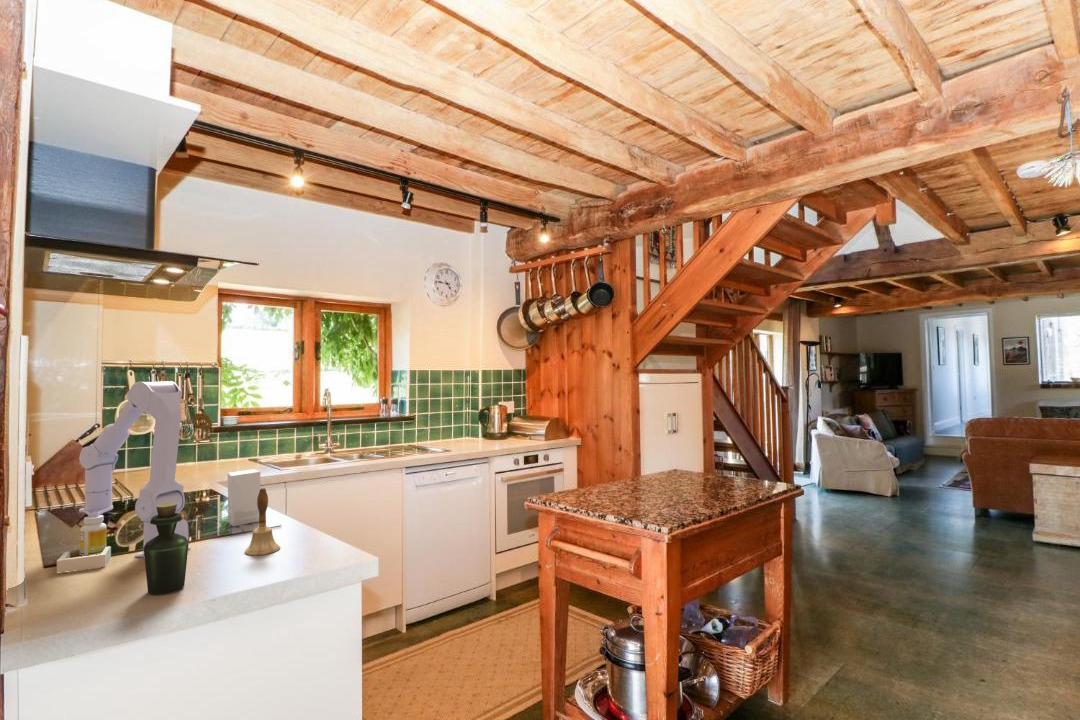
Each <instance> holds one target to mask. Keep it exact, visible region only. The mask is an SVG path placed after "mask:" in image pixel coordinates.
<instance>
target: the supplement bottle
mask: <svg viewBox="0 0 1080 720" xmlns="http://www.w3.org/2000/svg"><path fill="white" fill-rule="evenodd" d="M103 520H104V517H103V515H99V516H98V517H92V518H88V517H87V516H84V518H83V524H84V525H82V526H81V527H80V529H79V556H80V555H96V554H101V553H102V552H103V550H104V549H105V547H107V534H108V533H107V529H108V526H106V524H104V523H102V522H103Z"/></svg>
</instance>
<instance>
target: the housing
mask: <svg viewBox="0 0 1080 720" xmlns="http://www.w3.org/2000/svg"><path fill="white" fill-rule="evenodd" d="M111 555H112V546H109V545H108V546H106V547H105V549H104V550H103V552H102V553H101V554H97V555H89V556H82V557H81V556H75V557H74V556H73V557H71V551H70V550H69V551H64V552H63V553H62V555H61V556H60V557H59V558H57V560H56V573H57V572H65V571H74V570H81V571H86V569H88V570H94V569H93V568H95V569H102V568H101V567H103V568H106V567H107V565H108V564H109V562H110V561H111V559H112V556H111ZM110 558H111V559H110ZM108 561H109V562H108ZM107 563H108V564H107ZM74 572H75V571H74Z"/></svg>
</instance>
